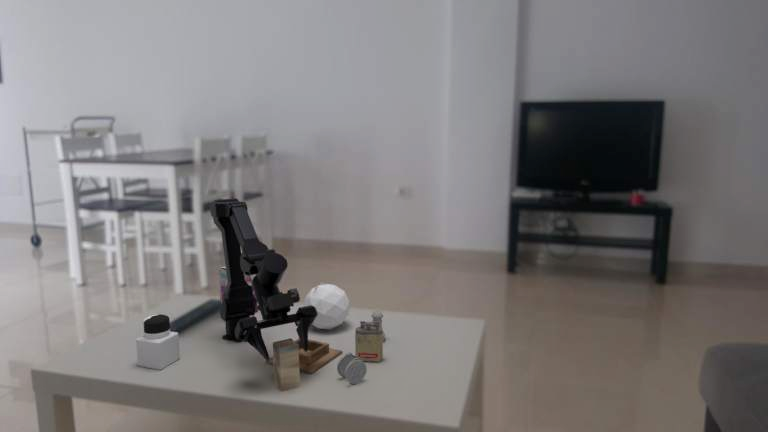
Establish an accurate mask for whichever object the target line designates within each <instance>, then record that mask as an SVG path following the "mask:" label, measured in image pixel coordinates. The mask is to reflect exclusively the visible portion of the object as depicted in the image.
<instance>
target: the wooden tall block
mask: <svg viewBox="0 0 768 432" xmlns="http://www.w3.org/2000/svg"><path fill="white" fill-rule="evenodd" d="M295 341H296V340H294V339H293V338H286V339H282V340H277V341H273V342H272V355H273V356H272V357H273V361H274V365H273V380H274V381H273V383H274V386H276V388H278V389H279V390H280V391H281V392H284V391H288V390H291V389H295V388H299V387H300V385H301V383H300V382H301V381H300V371H299V344H297V343H296V342H295Z"/></svg>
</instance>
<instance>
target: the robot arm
mask: <svg viewBox="0 0 768 432" xmlns="http://www.w3.org/2000/svg"><path fill="white" fill-rule="evenodd" d="M209 209H210V215H211V217H212V220H213V223H214V224H215V226H216V227H217V228H218V229H219V231H220V232H221V233H220V234H221V241H222V246H223V247H222V248H223V257H224V263H225V266H226V272H227V280H228V284H227V286H226V288H225V290H224V293H223V298H224V299H223V301H222V303H221V302H220V306H219V316H220V317H222V318H223V321H225V335H222V337H221V338H222V339H224V340H228V341H230V342H231V341H232V342H237V343H242V342H243V343H248V344H249V345H250V346H251V347H252V348H254V350H256V351H257V352H258V353H259V354H260V355H261V356H262V358H263V359H264V360H265V362H266V361H269V358H270V355H269V352H268V349H267V346H266V343H265V341H264V338H263V335H262V329H268V328H274V327H277V326H278V327H279V326H282V325H288V324H291V323H292V324H293V323H294V324H295V326H296V329H295V330H296V333H297V335H298V339H300V342H301V344H302V347H303V349H304V351H305V352H307V350H308V339H309V328H310V326H311V325H312V323H313V321H314V320H315V318H316V316H317V315H318V313H317V310H316V308H315V307H314V306H312V305H310V306H305V307H304V306H301V307H298V308H297V310H296V312H295V313H292V314H288V313H290V312H291V310H292V309H291V307H294V306H295V305H294V304H295V303H299V302H300V301H301V297H300V292H299V291H298V289H297V288H289V290H287V292H286V293H283V291H280V288H279V286H278V285H279V284H280V282H281V281H282V279H283V277H284V274H285V273H286V271H287V268H288V260H287V258H285V257H284V256H283V255H282V254H280V253H277V252H276V250H275V249H274V248H273V249H269V247H268V245H267V244H265V243H263V242H262V241H260V239H259V237H258V234H257V232H256V230H255V228H254V224H253V223H252V219H251V218H250V215H249V212H248V204H247V203H246V201H239V199H238V198H236V197H235V198H224V199H223V198H222V199H214V201H213V203H211V204H210V206H209ZM244 273H245V275H255V274H257V275H256V276H255V277H254V278H253V280H252V287H251V285H250V286H249V285H248V283H247V282H246V281H245V277H244ZM253 290H254V293H255V296H256V299H257V303H258V307H257V308H258V312H259V311H260V314H261V318H262V320H258V319H257V317H256V316H255V314H256V313H255V309H256V299H255V296H254V295H253ZM222 318H221V319H222Z"/></svg>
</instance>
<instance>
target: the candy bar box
mask: <svg viewBox="0 0 768 432" xmlns="http://www.w3.org/2000/svg"><path fill="white" fill-rule="evenodd" d="M218 270H219V295H220V297H219V298H220V304H221V303H222V301H223V299H224V298H223V293H224V290H225V288H226V286H227V284H228V280H227V272H226V265H225V266H221V267H219V269H218ZM256 275H257V274H255V275H245V273H244V277H245V281H246V282H247V283H248V285H249V286H250V285H251V287H252V280H253V278H254V277H255V276H256ZM253 295H254V296H255V293H254V290H253ZM255 299H256V296H255ZM257 307H258V302H257V299H256V309H255V314H256V313H258V312H259V311H258V308H257ZM220 317H221V316H220ZM220 319H223V318H222V317H221V318H220ZM223 320H224V319H223Z"/></svg>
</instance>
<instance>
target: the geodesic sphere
mask: <svg viewBox="0 0 768 432" xmlns="http://www.w3.org/2000/svg"><path fill="white" fill-rule="evenodd" d="M310 305H312V306H314V307H315V308H316V310H317V313H318V315H317V316H316V318H315V320H314V321H313V323H312V324H311V325H312V326H314V327H316V328H317V329H321V330H327V331H328V330H329V331H330V330H333V329H335V328H336V327H338V326H340V325H342V324H343V322H344V321H345V320H346V318H347V317H348V316H349V312H350V310H349V309H350V301H349V299H348V296H347V294H346V291H345V290H343V289H342V288H340V287H338V286H337V285H336V284H331V283H329V282H328V283H327V282H321V283H320V284H319V285H317V286H315V287H313V288H311V289H310V291H309V292H308V293H307V295H306V296H305V297H304V306H303V307H305V306H310Z"/></svg>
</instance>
